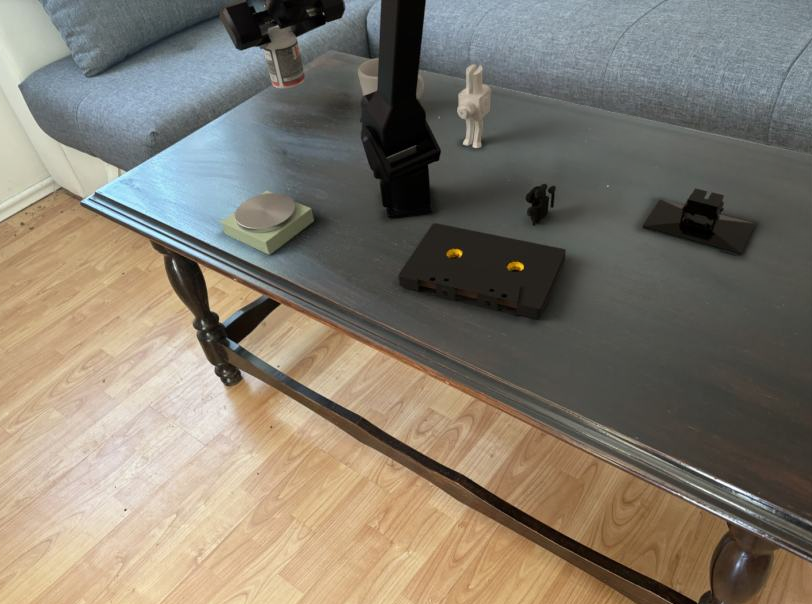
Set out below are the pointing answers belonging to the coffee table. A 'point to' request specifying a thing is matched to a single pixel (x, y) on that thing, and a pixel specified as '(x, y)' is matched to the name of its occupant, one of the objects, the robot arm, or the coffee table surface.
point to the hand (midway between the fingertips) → (276, 40)
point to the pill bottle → (284, 58)
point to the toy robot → (474, 105)
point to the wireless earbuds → (539, 202)
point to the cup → (370, 77)
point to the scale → (267, 221)
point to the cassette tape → (484, 270)
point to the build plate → (700, 223)
